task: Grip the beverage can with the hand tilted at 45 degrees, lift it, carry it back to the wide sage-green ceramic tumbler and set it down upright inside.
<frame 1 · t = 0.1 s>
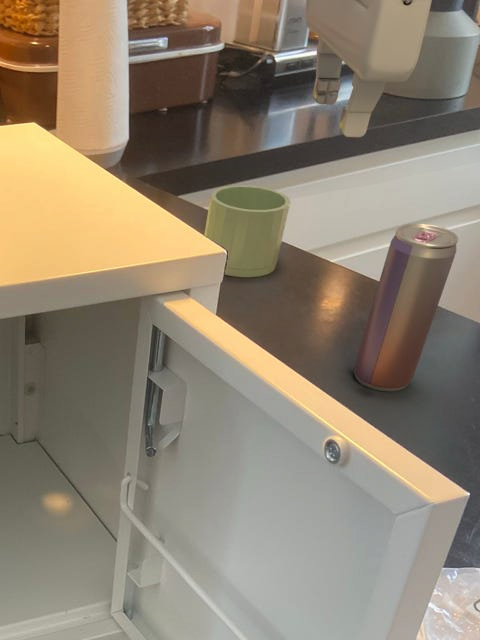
hand: (336, 117, 77), 26 cm above the table, tool pointing down, fingers open, 8 cm apart
tumbler: (238, 262, 122), on the table
beverage can: (380, 381, 100), on the table
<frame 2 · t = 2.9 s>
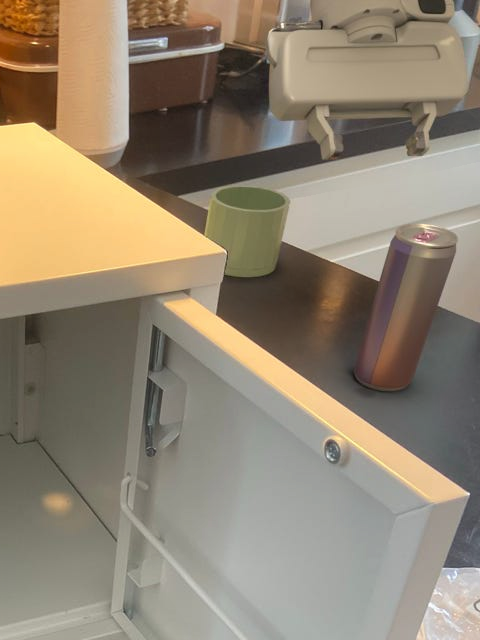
hand: (376, 155, 96), 18 cm above the table, tool tilted 45°, fingers open, 8 cm apart
nothing on the table moved.
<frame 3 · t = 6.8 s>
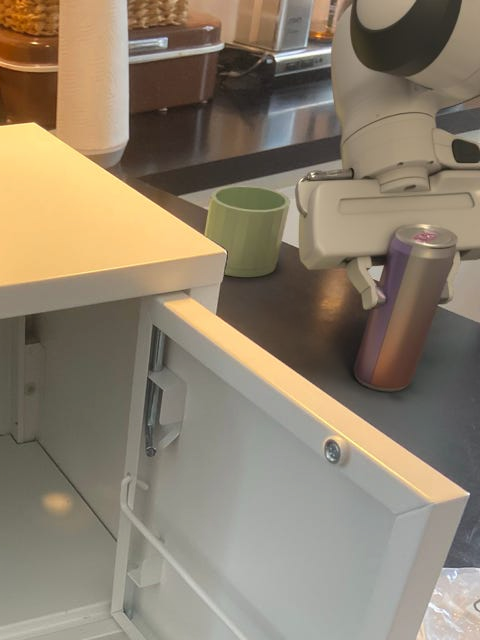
hand: (409, 304, 93), 8 cm above the table, tool tilted 45°, fingers closed on beverage can, 6 cm apart
beverage can: (380, 381, 100), on the table, touching gripper
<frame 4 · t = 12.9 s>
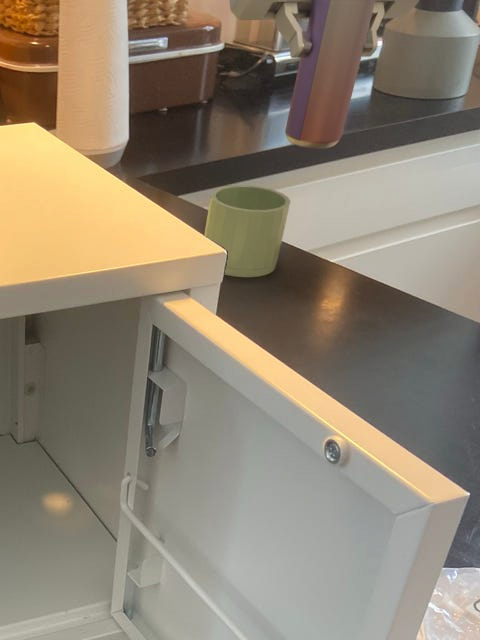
hand: (335, 53, 97), 26 cm above the table, tool tilted 45°, fingers closed on beverage can, 6 cm apart
beverage can: (311, 143, 103), point 17 cm above the table, touching gripper
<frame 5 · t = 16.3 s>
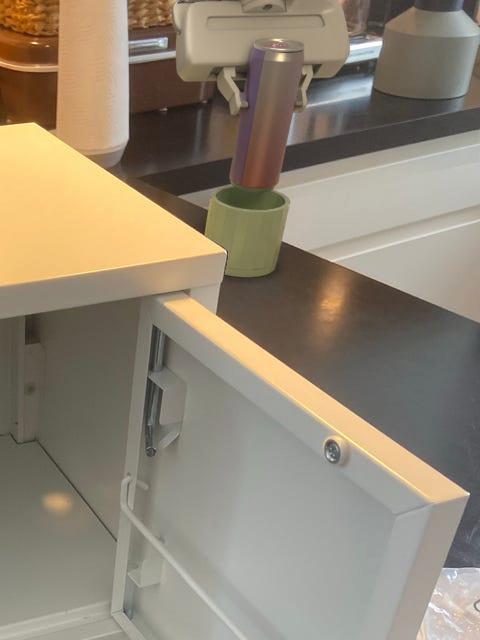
hand: (269, 111, 110), 18 cm above the table, tool tilted 45°, fingers closed on beverage can, 6 cm apart
beverage can: (252, 187, 116), point 9 cm above the table, touching gripper
when the fingers open (9 cm above the table, at t = 19.1 s): beverage can stays where it is, resting on tumbler.
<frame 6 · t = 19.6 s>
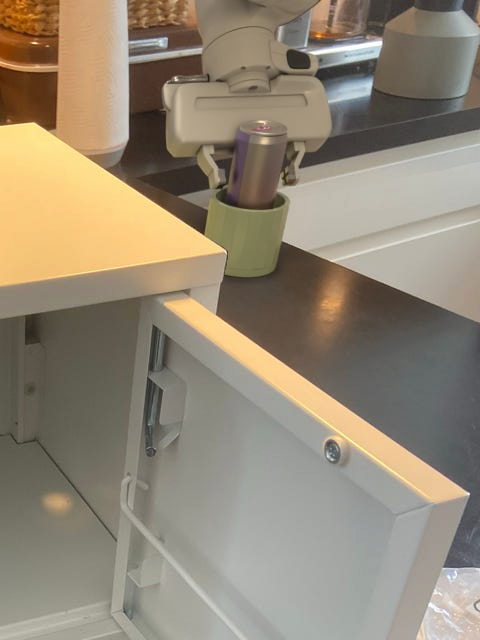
hand: (255, 185, 115), 10 cm above the table, tool tilted 45°, fingers open, 8 cm apart
beverage can: (239, 256, 122), point 1 cm above the table, touching tumbler
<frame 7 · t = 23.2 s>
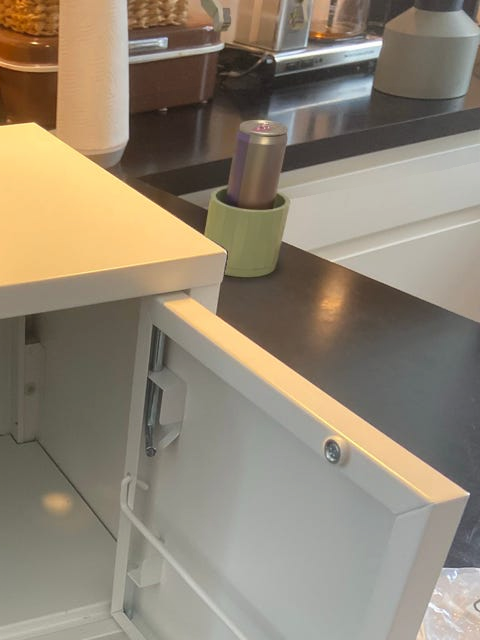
hand: (261, 27, 110), 25 cm above the table, tool tilted 45°, fingers open, 8 cm apart
nothing on the table moved.
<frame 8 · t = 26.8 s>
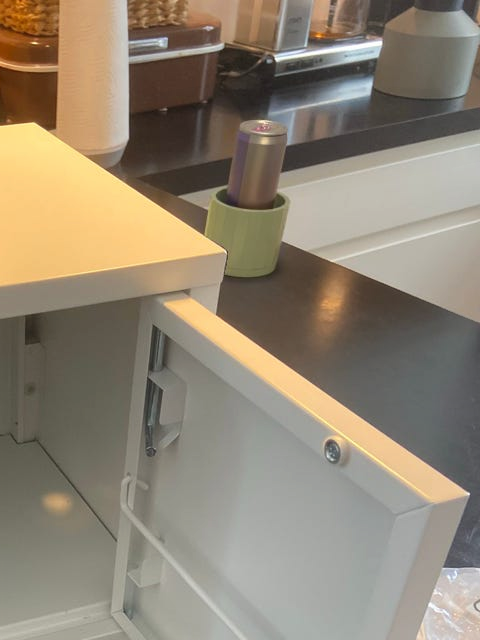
nothing on the table moved.
at the end: beverage can 0.0 cm off-centre in the tumbler, point 0.8 cm above the tumbler's base; beverage can tilted 0°; the gripper is holding nothing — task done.
